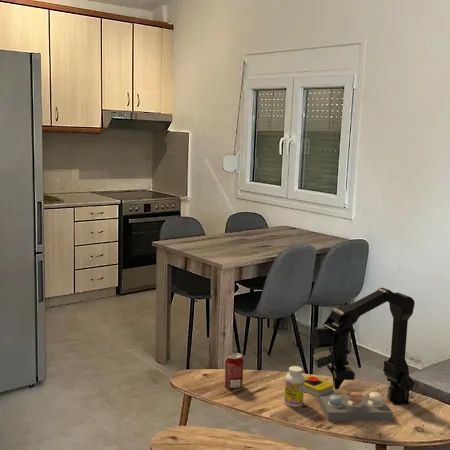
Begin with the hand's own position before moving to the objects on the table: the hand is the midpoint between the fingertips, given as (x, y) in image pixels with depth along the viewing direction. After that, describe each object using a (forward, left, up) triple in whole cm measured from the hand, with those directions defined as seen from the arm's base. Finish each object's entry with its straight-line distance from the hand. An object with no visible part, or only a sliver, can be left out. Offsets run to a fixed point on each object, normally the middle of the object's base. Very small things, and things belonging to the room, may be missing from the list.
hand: (336, 388), depth 199 cm
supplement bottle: (+13, -7, -9) cm, 17 cm away
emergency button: (+2, -18, -9) cm, 21 cm away
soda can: (+33, -21, -9) cm, 40 cm away
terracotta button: (-7, 0, -4) cm, 8 cm away
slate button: (0, 0, -5) cm, 5 cm away
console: (-7, 0, -8) cm, 11 cm away
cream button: (-14, 0, -4) cm, 15 cm away
